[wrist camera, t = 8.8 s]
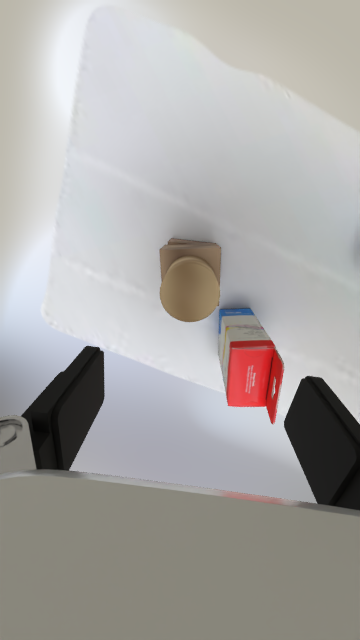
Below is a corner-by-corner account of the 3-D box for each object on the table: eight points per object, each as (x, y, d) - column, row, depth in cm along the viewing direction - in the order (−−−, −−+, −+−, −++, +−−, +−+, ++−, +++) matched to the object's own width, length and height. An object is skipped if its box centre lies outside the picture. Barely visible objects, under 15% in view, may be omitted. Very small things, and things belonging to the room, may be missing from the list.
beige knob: (218, 258, 23) (224, 267, 18) (210, 305, 25) (214, 324, 20) (167, 252, 23) (161, 260, 18) (164, 300, 25) (158, 318, 20)
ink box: (218, 308, 35) (235, 362, 22) (251, 307, 35) (288, 362, 21) (217, 355, 39) (231, 427, 25) (247, 355, 38) (277, 428, 25)
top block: (215, 243, 27) (221, 247, 22) (214, 292, 29) (218, 306, 25) (165, 244, 27) (159, 249, 22) (167, 293, 29) (163, 307, 25)
